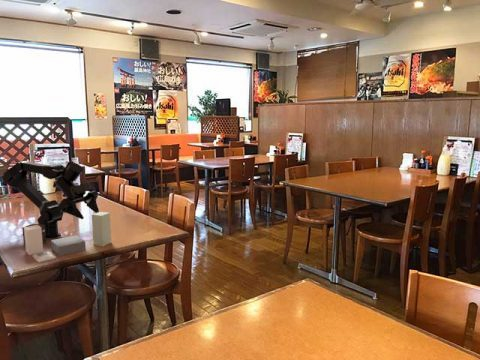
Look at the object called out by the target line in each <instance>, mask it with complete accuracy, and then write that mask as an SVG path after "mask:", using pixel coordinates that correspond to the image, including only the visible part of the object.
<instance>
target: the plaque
mask: <svg viewBox="0 0 480 360" xmlns="http://www.w3.org/2000/svg"><path fill="white" fill-rule="evenodd" d="M31 256H32V258H33V259H34V260H35V261H36V262H37V263H38V264H39V263H43V262H47V261H50V260H51V261H52V260H56V256H55V255H54V254H53V253H52V252H50V251H43V252H42V253H37V254H32V255H31Z"/></svg>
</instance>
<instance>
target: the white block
mask: <svg viewBox="0 0 480 360" xmlns="http://www.w3.org/2000/svg"><path fill="white" fill-rule="evenodd" d="M23 227H24V235H25V244H24V245H25V252H26V253H27V254H28V255H29V256H32V255H35V254H40V253H44V243H43V242H42V230H41V227H40V226H38V225H34V226H29V227H25V226H23Z"/></svg>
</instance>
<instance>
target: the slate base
mask: <svg viewBox="0 0 480 360" xmlns="http://www.w3.org/2000/svg"><path fill="white" fill-rule="evenodd" d="M50 242H51V250H53V252H55V254H56V255H58V256H59V257H61V256H66V255H71V254H74V253H79V252H83V251H86V250H87V249H86V247H87V246H86V241H85V240H84V239H83V238H81V237H80V236H78V235H71V236H67V237H62V238H61V237H60V238H57V239H51V240H50Z"/></svg>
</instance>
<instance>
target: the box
mask: <svg viewBox="0 0 480 360" xmlns="http://www.w3.org/2000/svg"><path fill="white" fill-rule="evenodd" d="M34 225H38V226H40V227H41V230H42V242H46V239H47V238H45V229H44V225H43V224H38V223H32V224H28V225H26V226H23V227H22V239H23V245H25V235H24V227H29V226H34Z"/></svg>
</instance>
